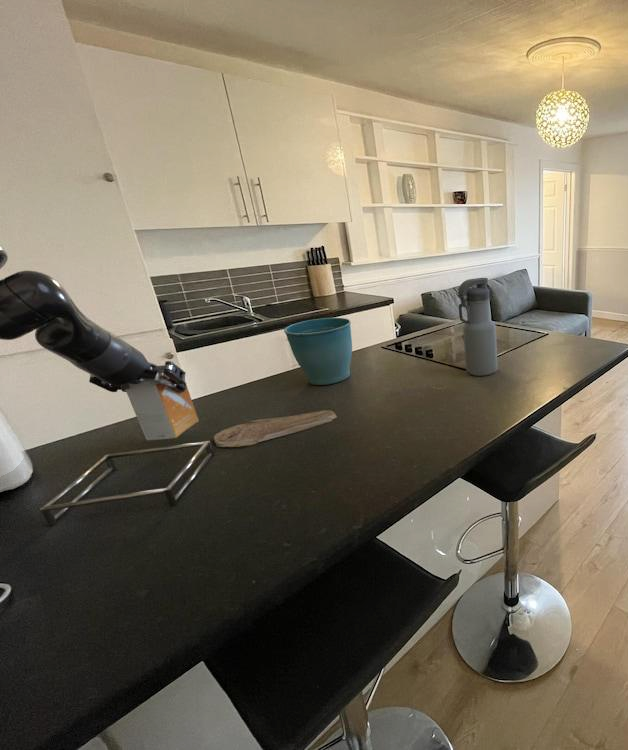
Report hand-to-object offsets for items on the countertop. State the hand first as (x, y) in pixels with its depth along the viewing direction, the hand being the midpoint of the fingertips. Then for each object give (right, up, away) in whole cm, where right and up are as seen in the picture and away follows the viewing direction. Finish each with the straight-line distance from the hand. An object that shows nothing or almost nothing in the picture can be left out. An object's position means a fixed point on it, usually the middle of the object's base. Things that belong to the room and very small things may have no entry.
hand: (163, 390), depth 88 cm
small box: (+1, -9, +2) cm, 9 cm away
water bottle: (+67, +4, +39) cm, 77 cm away
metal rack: (+4, -18, -10) cm, 21 cm away
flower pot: (+20, +2, +38) cm, 43 cm away
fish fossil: (+20, -10, +9) cm, 24 cm away
